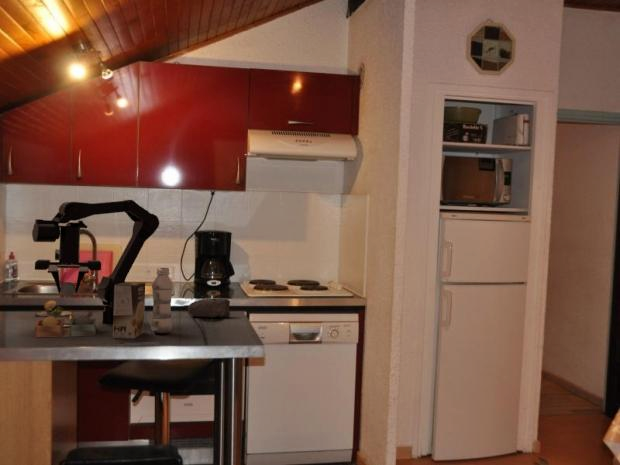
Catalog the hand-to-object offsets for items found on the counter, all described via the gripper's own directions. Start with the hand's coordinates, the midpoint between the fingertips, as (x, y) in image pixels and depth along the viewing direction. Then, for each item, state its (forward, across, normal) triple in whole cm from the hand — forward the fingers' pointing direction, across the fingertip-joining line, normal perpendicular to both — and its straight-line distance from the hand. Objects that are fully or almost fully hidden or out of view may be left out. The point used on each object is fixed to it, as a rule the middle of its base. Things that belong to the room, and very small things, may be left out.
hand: (67, 293), depth 180 cm
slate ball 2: (+10, -5, +7) cm, 13 cm away
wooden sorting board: (+11, 0, +6) cm, 13 cm away
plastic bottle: (+11, -27, +11) cm, 31 cm away
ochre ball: (+10, +4, +7) cm, 13 cm away
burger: (+12, +5, -25) cm, 28 cm away
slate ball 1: (+1, 0, 0) cm, 1 cm away
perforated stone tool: (+11, -47, -17) cm, 51 cm away
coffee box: (+12, -17, +17) cm, 27 cm away
